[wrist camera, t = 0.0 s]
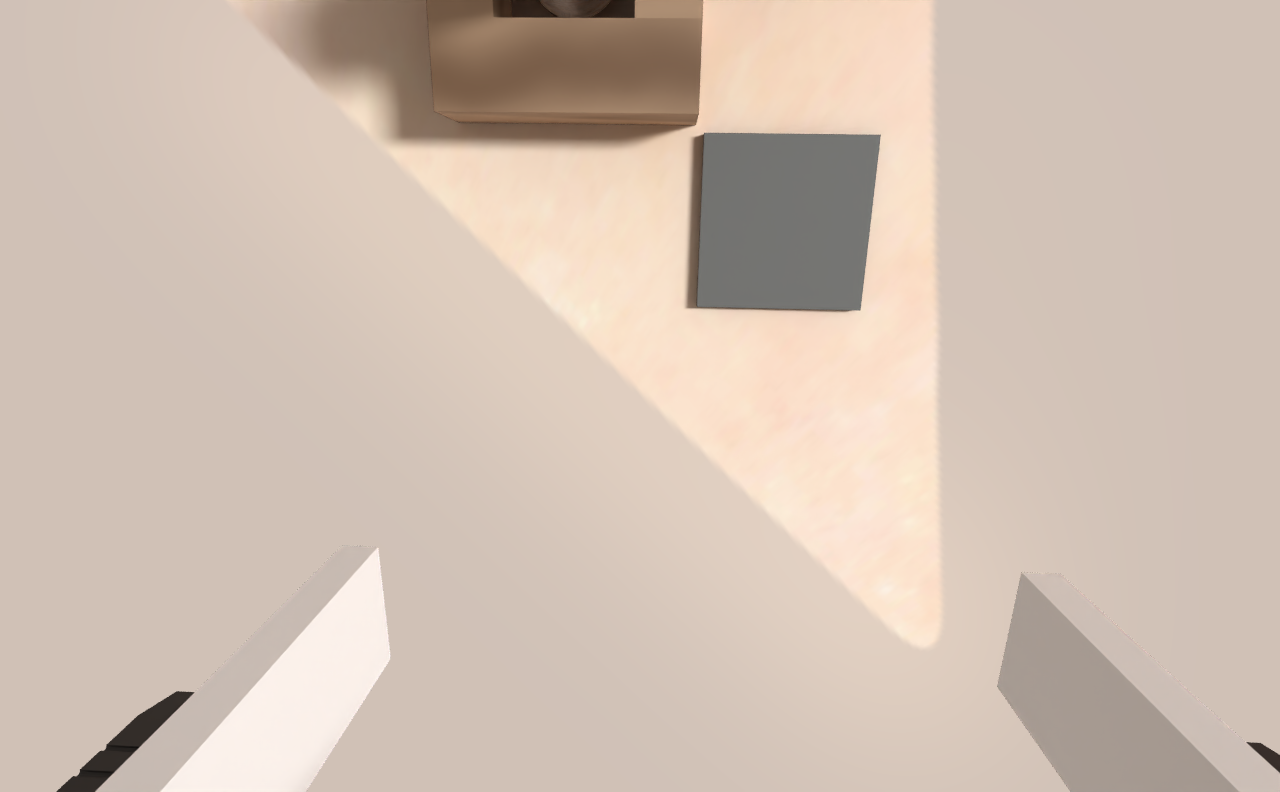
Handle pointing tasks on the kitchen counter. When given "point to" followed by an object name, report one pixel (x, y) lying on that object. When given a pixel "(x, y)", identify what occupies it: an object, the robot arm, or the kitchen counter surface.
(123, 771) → the robot arm
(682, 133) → the kitchen counter surface
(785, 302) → the mat
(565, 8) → the plug
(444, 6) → the housing
